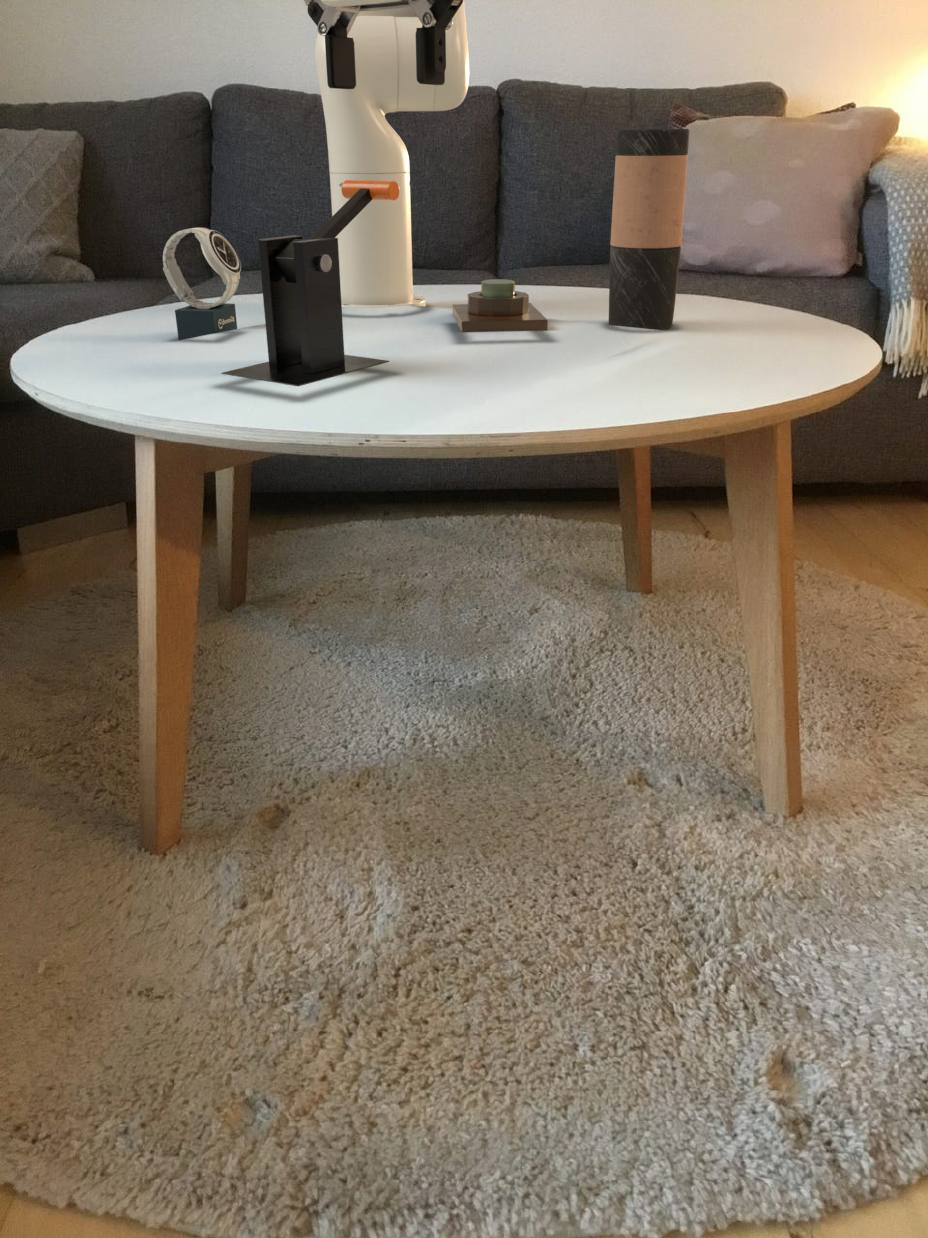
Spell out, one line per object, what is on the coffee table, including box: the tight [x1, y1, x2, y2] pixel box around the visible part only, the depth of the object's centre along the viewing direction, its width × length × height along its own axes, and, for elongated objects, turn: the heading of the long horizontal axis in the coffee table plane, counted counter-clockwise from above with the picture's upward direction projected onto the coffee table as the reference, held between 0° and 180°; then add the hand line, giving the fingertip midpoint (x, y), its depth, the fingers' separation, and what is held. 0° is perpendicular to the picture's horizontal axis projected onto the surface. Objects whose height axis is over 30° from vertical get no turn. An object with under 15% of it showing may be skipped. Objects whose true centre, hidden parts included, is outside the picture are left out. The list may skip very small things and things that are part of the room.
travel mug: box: [608, 128, 690, 331], centre depth 109 cm, size 8×8×20 cm
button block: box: [451, 290, 549, 333], centre depth 110 cm, size 12×9×4 cm
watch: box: [162, 227, 242, 341], centre depth 107 cm, size 6×8×11 cm
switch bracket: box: [220, 235, 390, 387], centre depth 87 cm, size 12×9×12 cm
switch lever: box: [276, 180, 400, 283], centre depth 88 cm, size 13×6×2 cm, turn 146°
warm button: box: [480, 278, 516, 297], centre depth 109 cm, size 4×4×2 cm
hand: (385, 86), depth 87 cm, fingers open, 9 cm apart
